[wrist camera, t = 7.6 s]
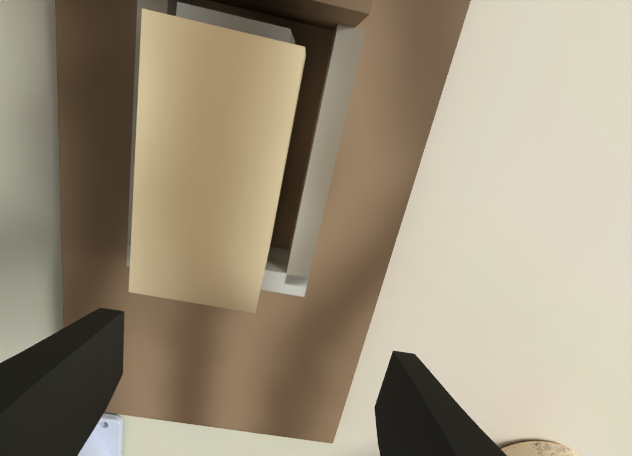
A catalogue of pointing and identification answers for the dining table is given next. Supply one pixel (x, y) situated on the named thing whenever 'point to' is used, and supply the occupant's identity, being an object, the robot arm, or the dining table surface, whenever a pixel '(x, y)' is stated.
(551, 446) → the teacup with lid
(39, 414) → the robot arm
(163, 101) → the beige pillar with cap
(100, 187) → the post board
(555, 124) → the dining table surface
